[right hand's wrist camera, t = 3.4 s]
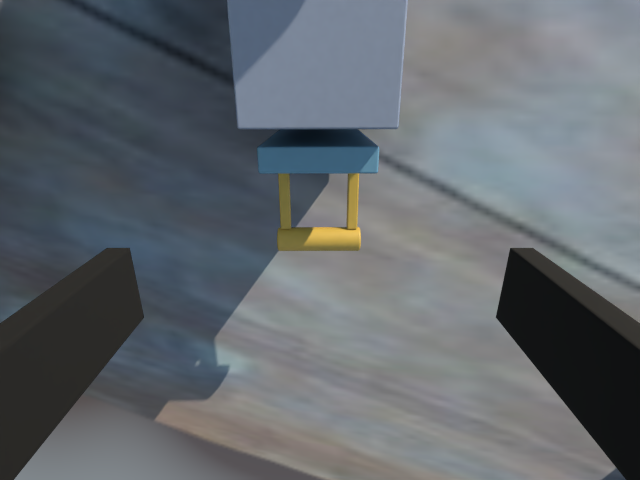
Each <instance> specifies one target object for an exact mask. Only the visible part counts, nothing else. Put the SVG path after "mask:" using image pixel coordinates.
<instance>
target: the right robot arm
mask: <svg viewBox="0 0 640 480" xmlns="http://www.w3.org/2000/svg"><path fill="white" fill-rule="evenodd" d="M143 318H144V315H143V310H142V305H141V301H140V296H139V291H138V286H137V281H136V276H135V272H134V267H133V262H132V257H131V252H130V248H106V249H105V250H104V251H102V252H101V253H99V254H98V255H97V256H95V257H94V258H92V259H91V260H89V261H88V262H87V263H85V264H84V265H82V266H81V267H80V268H78V269H77V270H75V271H74V272H72V273H71V274H70V275H68V276H67V277H65V278H64V279H62V280H61V281H60V282H58V283H57V284H55V285H54V286H53V287H51V288H50V289H48V290H47V291H45V292H44V293H43V294H41V295H40V296H38V297H37V298H36V299H34V300H33V301H31V302H30V303H28V304H27V305H26V306H24V307H23V308H21V309H20V310H19V311H17V312H16V313H14V314H13V315H11V316H10V317H9V318H7V319H6V320H4V321H3V322H1V323H0V480H14V479H15V477H16V476H17V475H18V474H19V472H20V471H21V470H22V469H23V467H24V466H25V465H26V464H27V462H28V461H29V460H30V459H31V458H32V456H33V455H34V454H35V453H36V451H37V450H38V449H39V447H40V446H41V445H42V444H43V443H44V441H45V440H46V439H47V438H48V436H49V435H50V434H51V433H52V431H53V430H54V429H55V428H56V426H57V425H58V424H59V423H60V421H61V420H62V419H63V418H64V416H65V415H66V414H67V413H68V411H69V410H70V409H71V408H72V406H73V405H74V404H75V403H76V401H77V400H78V399H79V398H80V396H81V395H82V394H83V393H84V391H85V390H86V389H87V388H88V386H89V385H90V384H91V383H92V381H93V380H94V379H95V378H96V376H97V375H98V374H99V373H100V372H101V370H102V369H103V368H104V367H105V365H106V364H107V363H108V362H109V360H110V359H111V358H112V357H113V355H114V354H115V353H116V352H117V350H118V349H119V348H120V347H121V345H122V344H123V343H124V342H125V340H126V339H127V338H128V337H129V335H130V334H131V333H132V332H133V330H134V329H135V328H136V327H137V325H138V324H139V323H140V322H141V320H142V319H143ZM496 318H497V319H498V320H499V322H500V323H501V324H502V325H503V327H504V328H505V329H506V330H507V332H508V333H509V334H510V335H511V337H512V338H513V339H514V340H515V342H516V343H517V344H518V345H519V347H520V348H521V349H522V350H523V352H524V353H525V354H526V355H527V357H528V358H529V359H530V360H531V362H532V363H533V364H534V365H535V367H536V368H537V369H538V370H539V372H540V373H541V374H542V375H543V377H544V378H545V379H546V380H547V382H548V383H549V384H550V385H551V386H552V388H553V389H554V390H555V391H556V393H557V394H558V395H559V396H560V398H561V399H562V400H563V401H564V403H565V404H566V405H567V406H568V408H569V409H570V410H571V411H572V413H573V414H574V415H575V416H576V418H577V419H578V420H579V421H580V423H581V424H582V425H583V426H584V428H585V429H586V430H587V431H588V433H589V434H590V435H591V436H592V438H593V439H594V440H595V441H596V443H597V444H598V445H599V446H600V448H601V449H602V450H603V451H604V453H605V454H606V455H607V456H608V458H609V459H610V460H611V461H612V463H613V464H614V465H615V466H616V467H617V469H618V470H619V471H620V472H621V474H622V475H623V476H624V477H625V479H626V480H640V323H638V322H637V321H636V320H634V319H633V318H631V317H630V316H629V315H627V314H626V313H624V312H623V311H621V310H620V309H619V308H617V307H616V306H614V305H613V304H612V303H610V302H609V301H607V300H606V299H604V298H603V297H602V296H600V295H599V294H597V293H596V292H595V291H593V290H592V289H590V288H589V287H587V286H586V285H585V284H583V283H582V282H580V281H579V280H577V279H576V278H575V277H573V276H572V275H570V274H569V273H568V272H566V271H565V270H563V269H562V268H560V267H559V266H558V265H556V264H555V263H553V262H552V261H551V260H549V259H548V258H546V257H545V256H543V255H542V254H541V253H539V252H538V251H536V250H535V249H534V248H510V252H509V257H508V262H507V267H506V272H505V276H504V281H503V286H502V291H501V296H500V301H499V305H498V310H497V315H496Z"/></svg>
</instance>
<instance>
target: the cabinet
mask: <svg viewBox="0 0 640 480" xmlns="http://www.w3.org/2000/svg"><path fill="white" fill-rule="evenodd" d="M407 3H408V0H227V8H228V21H229V33H230V45H231V57H232V69H233V81H234V93H235V106H236V118H237V128H238V129H397V128H398V127H399V113H400V99H401V86H402V72H403V58H404V44H405V31H406V17H407Z"/></svg>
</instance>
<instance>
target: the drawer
mask: <svg viewBox="0 0 640 480" xmlns="http://www.w3.org/2000/svg"><path fill="white" fill-rule="evenodd" d="M257 156H258V172H259V173H260V174H278V179H279V201H280V223H281V227H280V228H278V232H277V246H278V250H279V251H358V250H360V244H361V234H360V228H359V227H357V217H358V190H359V173H377V172H378V161H379V147H378V146H377V145H376V144H375V143H373V142H372V141H371V140H370V139H369V138H368V137H366V136H365V135H364V134H363V133H362V132H360V131H359V130H358V129H280V130H279V131H277V132H276V133H275V134H274V135H272V136H271V137H270V138H269V139H267V140H266V141H265V142H263V143H262V144H261V145H260V146H258V147H257ZM310 173H348V191H347V227H291V204H290V174H310Z"/></svg>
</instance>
